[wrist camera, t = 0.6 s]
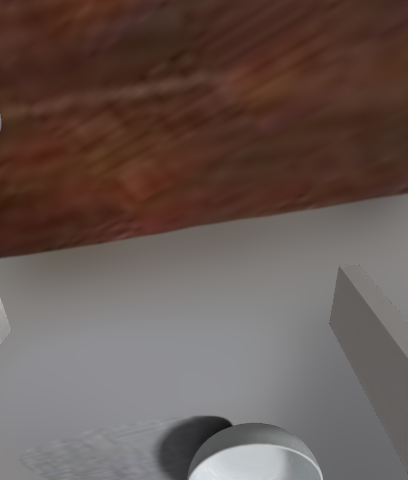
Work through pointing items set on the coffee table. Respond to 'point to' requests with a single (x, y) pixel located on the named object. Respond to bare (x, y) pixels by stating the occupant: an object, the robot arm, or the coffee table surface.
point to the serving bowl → (254, 455)
